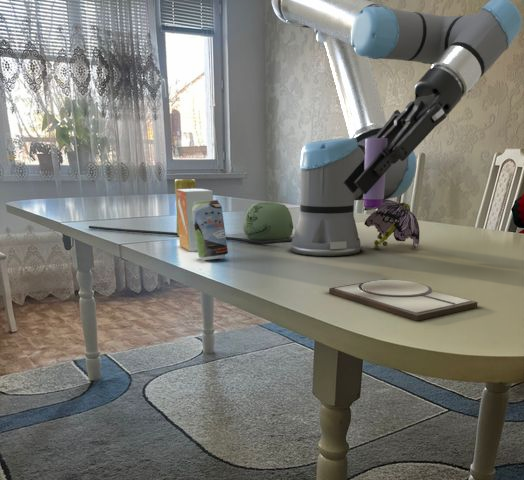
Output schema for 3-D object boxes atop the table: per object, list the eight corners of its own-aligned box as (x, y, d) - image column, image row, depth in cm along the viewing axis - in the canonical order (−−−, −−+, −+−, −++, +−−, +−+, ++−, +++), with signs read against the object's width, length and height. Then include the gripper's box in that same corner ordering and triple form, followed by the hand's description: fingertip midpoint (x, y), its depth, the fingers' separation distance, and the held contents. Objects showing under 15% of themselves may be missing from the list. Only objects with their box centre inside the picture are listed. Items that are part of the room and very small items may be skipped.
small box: (179, 246, 128) (175, 189, 124) (205, 244, 130) (202, 188, 126) (188, 251, 121) (185, 191, 117) (215, 249, 123) (213, 190, 119)
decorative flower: (443, 207, 115) (376, 186, 114) (425, 260, 116) (359, 240, 115) (422, 215, 129) (362, 196, 128) (407, 262, 131) (348, 244, 130)
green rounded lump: (303, 239, 137) (304, 203, 135) (260, 243, 131) (259, 206, 128) (269, 232, 150) (269, 199, 147) (228, 235, 144) (227, 202, 141)
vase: (180, 233, 148) (176, 179, 144) (201, 234, 148) (199, 179, 143) (173, 237, 143) (170, 180, 138) (196, 237, 142) (193, 180, 137)
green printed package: (216, 263, 107) (214, 201, 103) (187, 260, 111) (184, 199, 107) (234, 258, 112) (232, 198, 108) (206, 255, 116) (203, 197, 112)
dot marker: (358, 205, 95) (361, 138, 92) (373, 204, 97) (376, 139, 94) (372, 207, 93) (376, 138, 89) (387, 206, 94) (392, 138, 91)
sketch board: (328, 293, 84) (329, 286, 84) (391, 282, 91) (392, 275, 90) (417, 321, 70) (417, 312, 69) (484, 305, 77) (485, 298, 76)
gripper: (490, 95, 86) (392, 206, 87) (429, 105, 101) (345, 200, 102) (466, 56, 83) (364, 172, 84) (406, 72, 98) (320, 171, 99)
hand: (354, 187), depth 93 cm, fingers closed on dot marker, 4 cm apart
